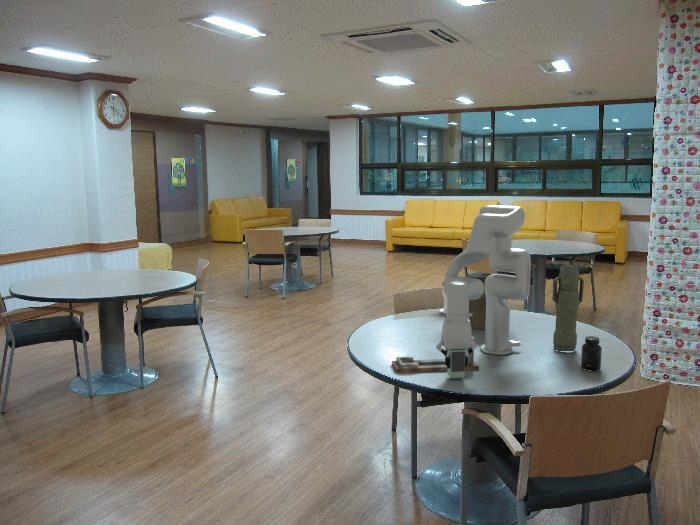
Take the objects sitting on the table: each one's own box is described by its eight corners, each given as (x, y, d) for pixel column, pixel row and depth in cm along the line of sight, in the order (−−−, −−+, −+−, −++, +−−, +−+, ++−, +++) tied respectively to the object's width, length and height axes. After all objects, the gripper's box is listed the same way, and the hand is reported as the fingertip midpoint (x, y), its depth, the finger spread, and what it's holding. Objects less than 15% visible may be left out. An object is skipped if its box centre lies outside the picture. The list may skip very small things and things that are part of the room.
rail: (471, 361, 227) (472, 332, 225) (479, 369, 218) (480, 339, 217) (391, 364, 224) (392, 335, 222) (396, 372, 215) (396, 342, 213)
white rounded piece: (467, 312, 304) (468, 284, 301) (450, 315, 298) (451, 286, 295) (451, 307, 314) (452, 280, 311) (435, 310, 308) (435, 282, 306)
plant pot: (501, 336, 261) (503, 288, 258) (448, 328, 274) (449, 282, 270) (516, 323, 283) (518, 279, 279) (466, 317, 295) (467, 274, 292)
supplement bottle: (584, 364, 224) (586, 334, 222) (602, 368, 220) (605, 337, 218) (578, 369, 219) (580, 338, 217) (597, 373, 215) (599, 341, 213)
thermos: (545, 347, 246) (550, 264, 240) (572, 346, 247) (577, 263, 242) (555, 353, 237) (560, 267, 232) (583, 352, 239) (589, 267, 233)
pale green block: (465, 378, 207) (465, 350, 205) (451, 378, 206) (451, 351, 205) (461, 373, 211) (461, 346, 210) (447, 374, 211) (448, 347, 209)
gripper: (477, 313, 210) (476, 362, 213) (430, 314, 208) (429, 364, 211) (484, 318, 203) (483, 369, 206) (436, 320, 201) (435, 371, 204)
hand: (456, 366), depth 208 cm, fingers closed on pale green block, 5 cm apart
